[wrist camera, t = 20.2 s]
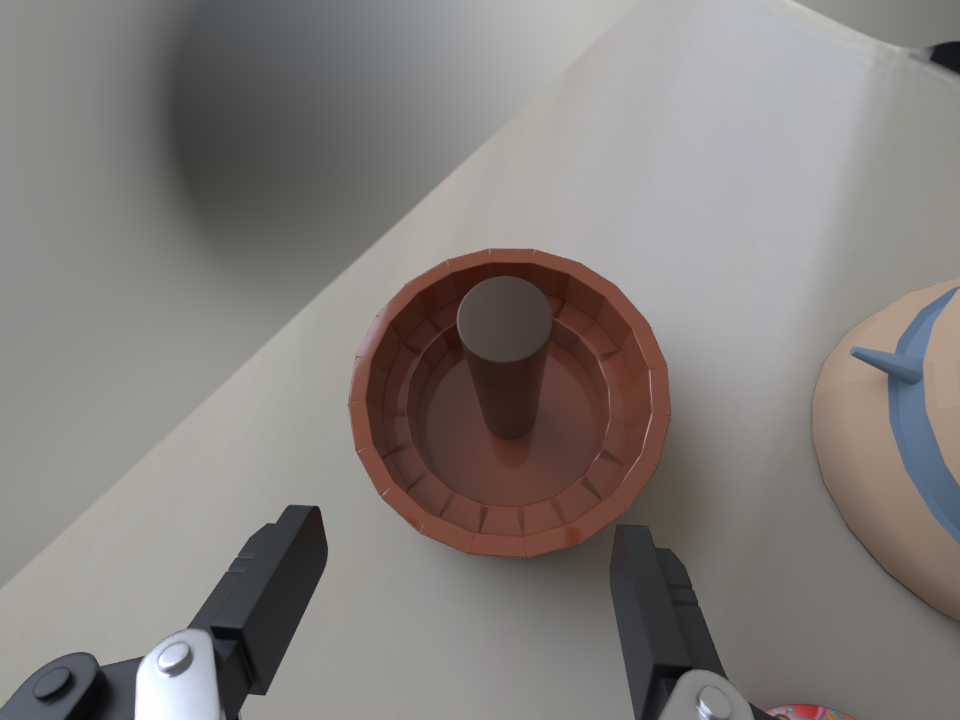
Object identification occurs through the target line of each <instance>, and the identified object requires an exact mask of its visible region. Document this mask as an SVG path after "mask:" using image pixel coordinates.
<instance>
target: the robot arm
mask: <svg viewBox="0 0 960 720" xmlns="http://www.w3.org/2000/svg"><path fill="white" fill-rule="evenodd" d="M327 556H328V546H327V541H326V536H325V531H324V526H323V521H322V516H321V511H320V509H319V507H318V506H306V505H289V506H288V507H287V508H286V509H285V510H284V512H283V513H282V515H281V516H280V518H279V519H278V521H277V522H276V524H271V523H267V524H266V525H265V526H264V527H262V528H261V529H260V530H259V531H257V532H256V533H255V534H254V535H252V536H251V537H250V538H249V540H248V541H247V543H246V544H245V545H244V547H243V548H242V550H241V551H240V553H239V554H238V558H235V560H234V561H233V563H232V564H231V566H230V567H229V570H228V572H226V573H225V574H224V576H223V577H222V579H221V580H220V581H219V583H218V584H217V586H216V587H215V589H214V590H213V592H212V593H211V594H210V596H209V597H208V599H207V600H206V602H205V603H204V605H203V606H202V607H201V609H200V610H199V612H198V613H197V615H196V616H195V618H194V619H193V620H192V622H191V623H190V625H189V626H188V627H187V628H186V629H185V630H181V631H178V632H175V633H173V634H171V635H169V636H168V637H166V638H164V639H163V640H161V641H160V642H159V643H157V644H156V645H155V646H154V647H153V648H152V649H151V650H150V651H149V652H148V653H147V654H146V656H143V657H139V658H135V659H130V660H126V661H122V662H118V663H113V664H109V665H105V666H100V665H99V664H98V662H97V660H96V658H95V657H94V656H93V655H92V654H89V653H85V652H77V653H71V654H68V655H65V656H62V657H60V658H57V659H55V660H53V661H51V662H50V663H48V664H46V665H45V666H43V667H42V668H40V669H39V670H37V671H36V672H35V673H34V674H32V675H31V676H30V677H29V678H28V679H27V680H26V681H25V682H24V683H23V684H22V685H21V686H20V687H19V689H18V690H17V691H16V692H15V693H14V694H13V695H12V697H11V698H10V699H9V700H8V701H7V702H6V704H5V705H4V706H3V707H2V708H1V709H0V720H242V717H241V713H240V709H241V707H242V705H243V703H244V701H245V699H246V697H247V695H248V694H254V695H266V693H267V691H268V689H269V686H270V684H271V682H272V680H273V678H274V676H275V674H276V672H277V669H278V667H279V665H280V663H281V661H282V659H283V657H284V654H285V652H286V650H287V648H288V646H289V644H290V642H291V640H292V637H293V635H294V633H295V631H296V629H297V627H298V625H299V623H300V620H301V618H302V616H303V614H304V612H305V610H306V608H307V605H308V603H309V601H310V599H311V597H312V595H313V593H314V591H315V588H316V586H317V584H318V582H319V580H320V578H321V576H322V573H323V571H324V569H325V566H326V562H327ZM610 586H611V593H612V598H613V604H614V609H615V614H616V620H617V625H618V630H619V636H620V641H621V646H622V651H623V657H624V662H625V667H626V673H627V678H628V683H629V689H630V694H631V699H632V705H633V710H634V715H635V720H782V719H779V718H777V717H774V716H772V715H770V714H767V713H765V712H763V711H761V710H760V709H758V708H756V707H755V706H754V705H752V704H751V703H749V702H748V701H747V700H746V699H745V697H744V696H743V694H742V693H741V692H740V691H739V690H738V688H736V687H735V686H734V685H733V684H732V683H731V682H730V681H729V680H728V678H727V676H726V675H725V672H724V670H723V668H722V665H721V662H720V660H719V657H718V654H717V652H716V649H715V646H714V644H713V641H712V638H711V635H710V633H709V630H708V627H707V625H706V622H705V619H704V617H703V614H702V611H701V609H700V607H699V606H698V600H697V598H696V595H695V592H694V590H692V584H691V582H690V579H689V576H688V574H687V571H686V568H685V566H684V565H683V564H682V562H681V561H680V560H679V559H678V558H677V557H676V555H675V554H674V553H673V552H672V551H671V549H664V548H655V546H654V543H653V539H652V536H651V533H650V530H649V528H648V527H647V526H639V525H621V524H618V525H617V526H616V531H615V538H614V544H613V551H612V557H611V564H610Z"/></svg>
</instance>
